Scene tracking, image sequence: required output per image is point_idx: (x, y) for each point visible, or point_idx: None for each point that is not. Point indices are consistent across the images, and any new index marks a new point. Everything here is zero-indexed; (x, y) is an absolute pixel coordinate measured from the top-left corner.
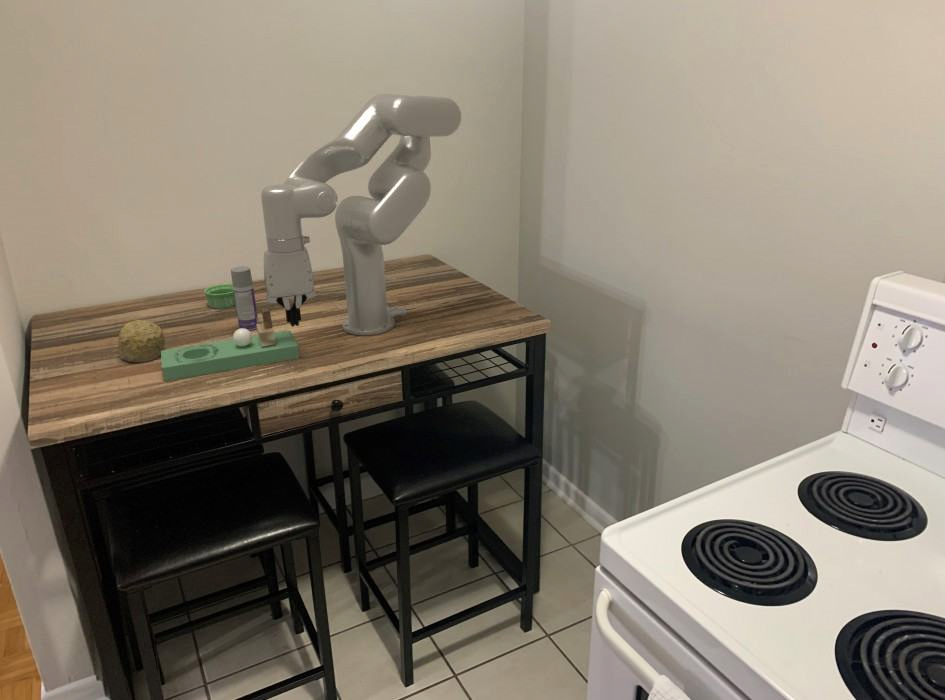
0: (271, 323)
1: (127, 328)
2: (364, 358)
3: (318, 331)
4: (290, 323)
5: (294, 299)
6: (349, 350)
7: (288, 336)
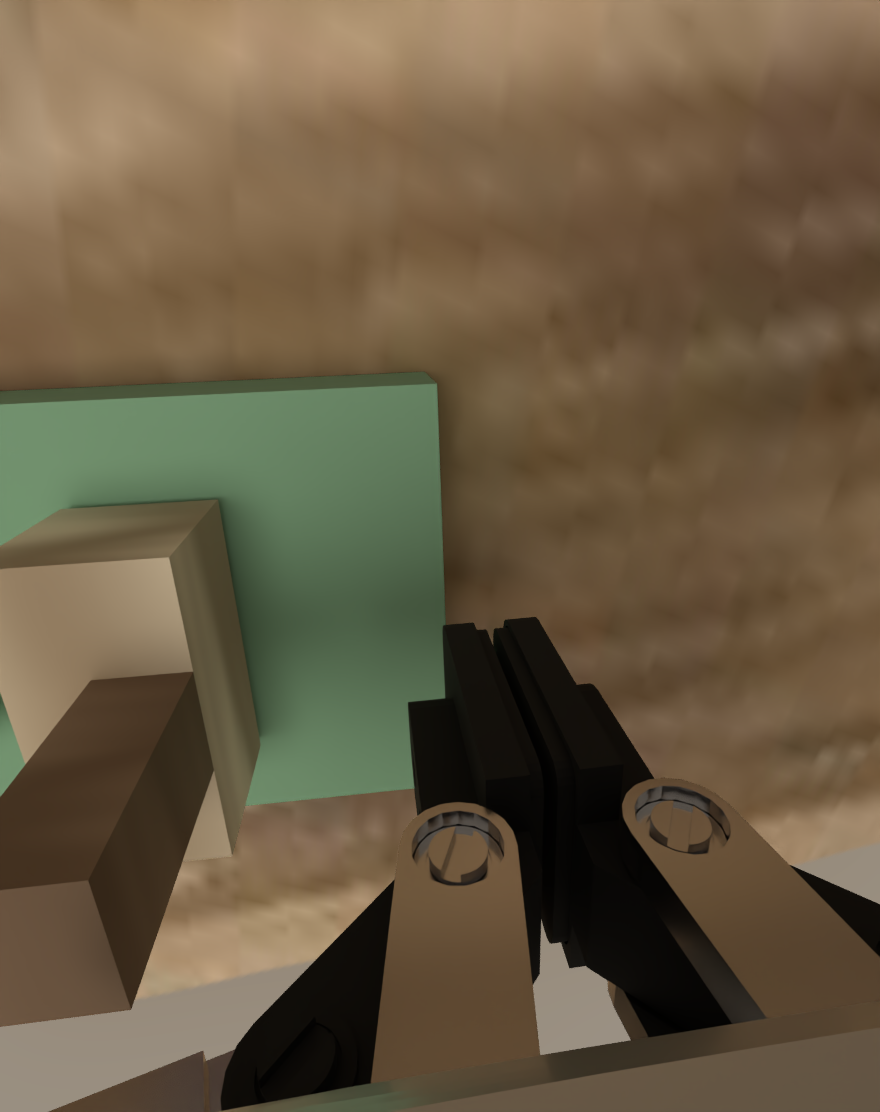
0: (192, 820)
1: None
2: (807, 825)
3: (722, 168)
4: (445, 686)
5: (678, 937)
6: (782, 693)
7: (395, 562)
